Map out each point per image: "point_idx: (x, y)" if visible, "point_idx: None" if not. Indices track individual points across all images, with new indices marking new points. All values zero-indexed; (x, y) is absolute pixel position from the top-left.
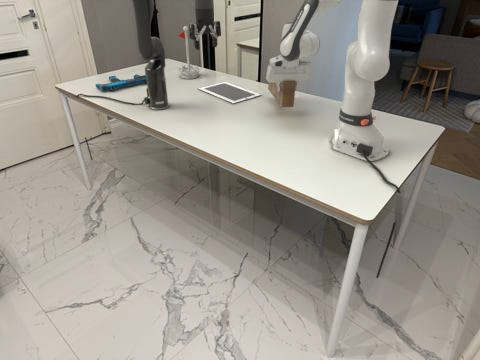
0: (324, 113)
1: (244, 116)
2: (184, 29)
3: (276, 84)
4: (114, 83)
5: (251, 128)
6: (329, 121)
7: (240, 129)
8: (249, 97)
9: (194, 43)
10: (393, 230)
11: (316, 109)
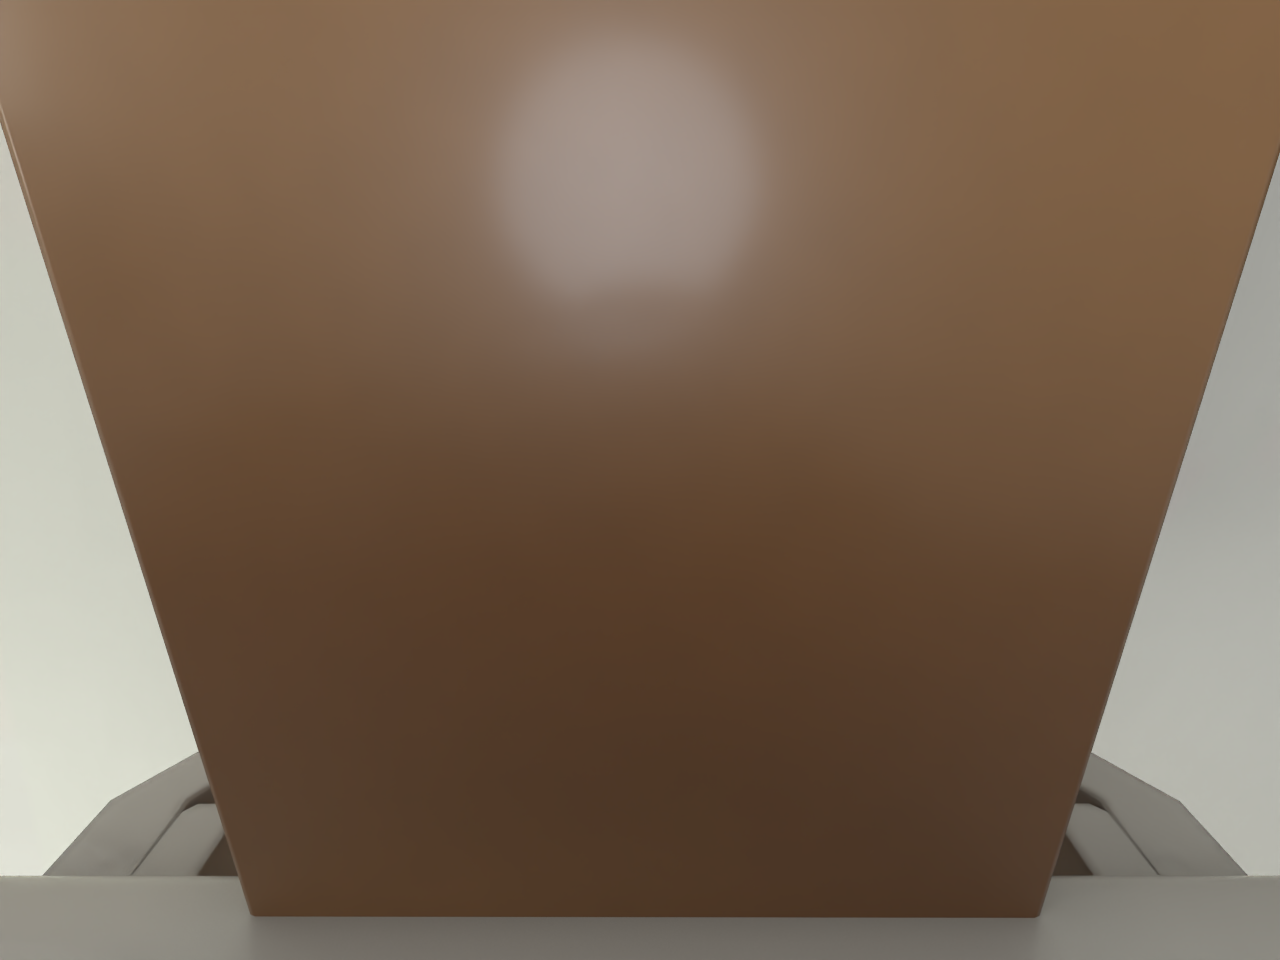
0: (1250, 515)
1: (14, 416)
2: None
3: (180, 792)
4: None
5: (151, 764)
6: (1127, 751)
7: (27, 766)
8: None
9: None
10: None
11: (1244, 336)
